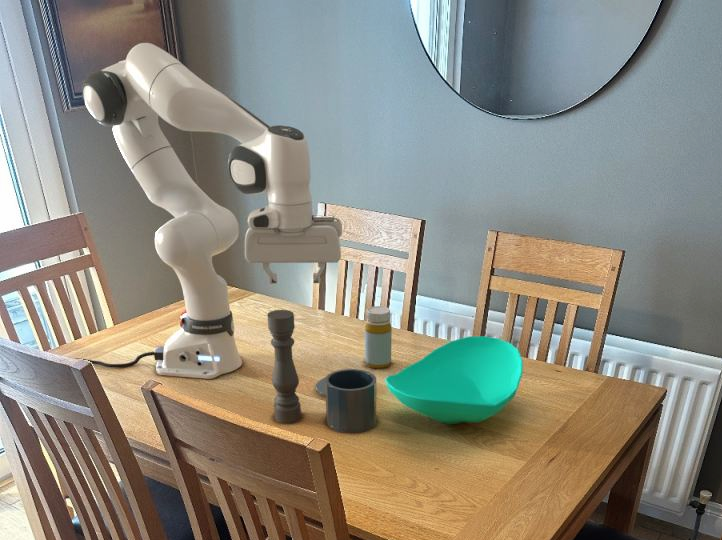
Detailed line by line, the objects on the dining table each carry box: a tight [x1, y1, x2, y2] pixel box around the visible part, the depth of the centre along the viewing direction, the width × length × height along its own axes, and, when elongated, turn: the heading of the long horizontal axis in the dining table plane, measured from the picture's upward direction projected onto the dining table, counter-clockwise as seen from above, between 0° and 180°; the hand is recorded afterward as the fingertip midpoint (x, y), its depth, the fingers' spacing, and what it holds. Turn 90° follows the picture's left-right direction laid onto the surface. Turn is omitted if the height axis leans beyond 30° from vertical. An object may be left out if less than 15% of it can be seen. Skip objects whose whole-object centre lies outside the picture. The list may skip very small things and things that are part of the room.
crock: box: [324, 368, 377, 434], centre depth 168 cm, size 12×12×11 cm
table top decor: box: [384, 335, 524, 425], centre depth 170 cm, size 40×28×13 cm
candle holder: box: [266, 309, 302, 425], centre depth 165 cm, size 6×6×25 cm
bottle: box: [364, 305, 393, 369], centre depth 194 cm, size 7×7×15 cm
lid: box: [315, 369, 339, 397], centre depth 184 cm, size 13×13×5 cm
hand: (295, 282), depth 158 cm, fingers open, 8 cm apart
